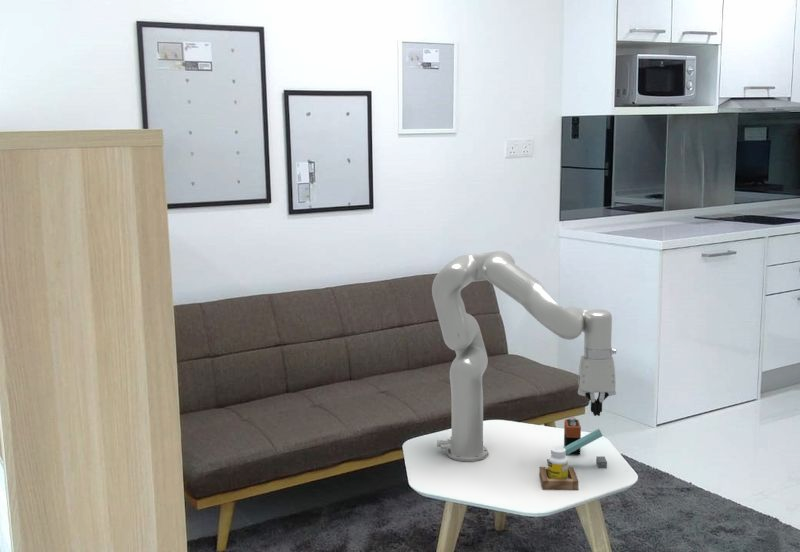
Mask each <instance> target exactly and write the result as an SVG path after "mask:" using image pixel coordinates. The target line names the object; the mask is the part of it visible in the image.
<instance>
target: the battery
mask: <svg viewBox="0 0 800 552" xmlns="http://www.w3.org/2000/svg"><path fill="white" fill-rule="evenodd" d="M563 425H564V426H563V427H564V429H563V430H564V431H563V433H564V434H563V447H565V446H567V445H569V444H571V443H573V442H575V441H576V440H578V439H580V438H582V435H581V432H582V428H581V427H582V426H581V424H580V420H579V419H576V417H575V416H574V417H573V416H570V417H568V419H564V424H563ZM579 455H581V448H579V449H577V450H576V451H574V452H572V453H570V454H568V455H567V456H579Z"/></svg>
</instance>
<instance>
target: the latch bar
mask: <svg viewBox="0 0 800 552" xmlns="http://www.w3.org/2000/svg"><path fill="white" fill-rule="evenodd" d="M602 437H603V433H602V432H601V430H600V428H597V429H596V430H593V431H591V432H589V433H588V434H586V435H585V436H581V438H580V439H578V440H576V441H575V442H573V443H571V444H569V445H567V446H565V447H564V446H562V448H565V450H566V455H565V456H566V457H567V456H569V455H568V454H570V453H572V452H574V451H576V450H577V449H579V448H580V449H581V448H583V447H585V446H587V445H589V444H591V443H593V442H595V441H596V440H598V439H599V438H602Z"/></svg>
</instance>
